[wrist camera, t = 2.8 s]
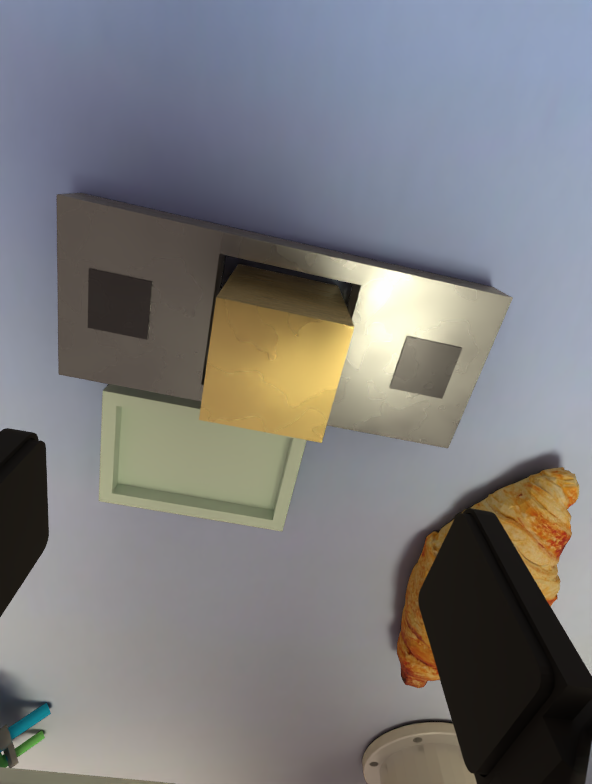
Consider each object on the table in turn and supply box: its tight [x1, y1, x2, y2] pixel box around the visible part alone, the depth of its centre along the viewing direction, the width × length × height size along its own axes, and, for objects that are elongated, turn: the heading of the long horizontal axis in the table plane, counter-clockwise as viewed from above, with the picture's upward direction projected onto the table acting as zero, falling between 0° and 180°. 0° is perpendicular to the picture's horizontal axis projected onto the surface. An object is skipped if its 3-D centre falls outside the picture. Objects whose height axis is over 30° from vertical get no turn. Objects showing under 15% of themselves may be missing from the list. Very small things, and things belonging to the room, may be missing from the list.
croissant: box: [397, 467, 579, 688], centre depth 31 cm, size 21×10×8 cm, turn 159°
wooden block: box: [199, 264, 354, 443], centre depth 22 cm, size 6×6×8 cm
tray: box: [99, 384, 307, 531], centre depth 28 cm, size 12×8×2 cm, turn 78°
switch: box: [57, 193, 512, 448], centre depth 24 cm, size 22×9×3 cm, turn 78°
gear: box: [0, 703, 51, 768], centre depth 39 cm, size 11×6×10 cm
